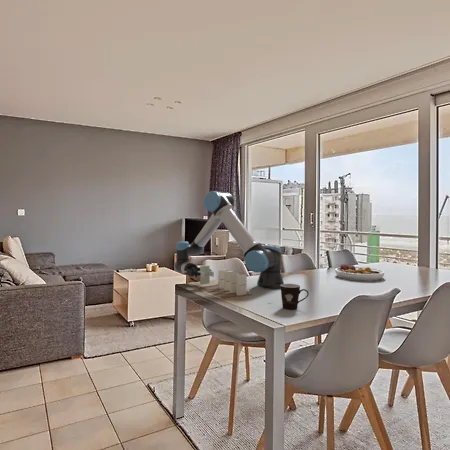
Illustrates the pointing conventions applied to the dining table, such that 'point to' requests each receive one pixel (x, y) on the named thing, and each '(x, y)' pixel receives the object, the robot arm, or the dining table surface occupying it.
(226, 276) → the domino
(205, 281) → the domino
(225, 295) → the board
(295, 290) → the coffee mug
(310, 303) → the dining table surface
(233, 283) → the domino
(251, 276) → the dining table surface
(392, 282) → the dining table surface
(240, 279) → the domino
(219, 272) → the domino
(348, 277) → the bowl
